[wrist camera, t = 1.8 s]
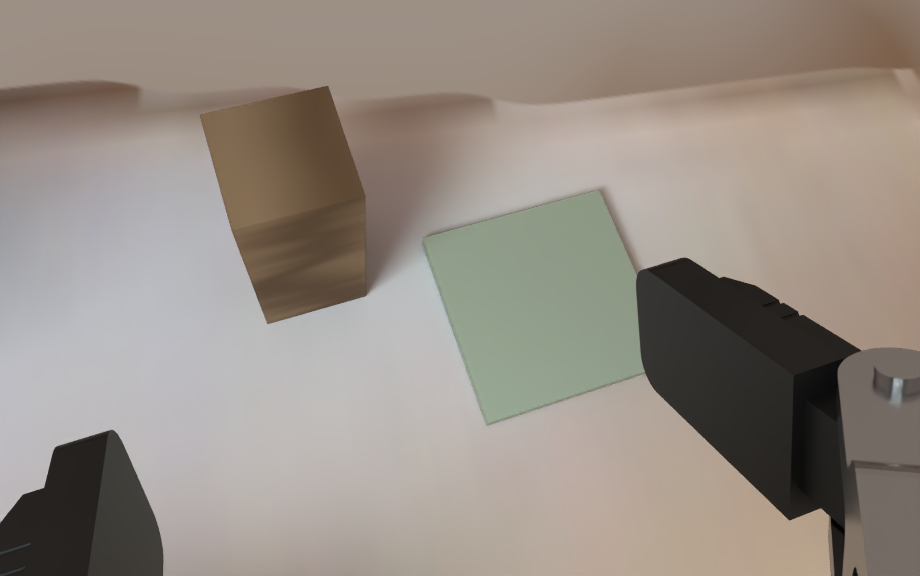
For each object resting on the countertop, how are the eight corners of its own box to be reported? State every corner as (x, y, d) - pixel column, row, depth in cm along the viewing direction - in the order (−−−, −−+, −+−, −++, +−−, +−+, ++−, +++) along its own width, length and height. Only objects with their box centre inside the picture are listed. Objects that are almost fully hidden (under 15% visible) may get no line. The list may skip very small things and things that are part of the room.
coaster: (486, 425, 35) (488, 423, 34) (422, 243, 37) (422, 237, 37) (669, 364, 37) (674, 361, 36) (595, 195, 39) (599, 189, 39)
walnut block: (267, 324, 35) (231, 230, 26) (242, 234, 37) (199, 114, 27) (365, 296, 36) (365, 195, 27) (337, 209, 38) (327, 85, 28)
